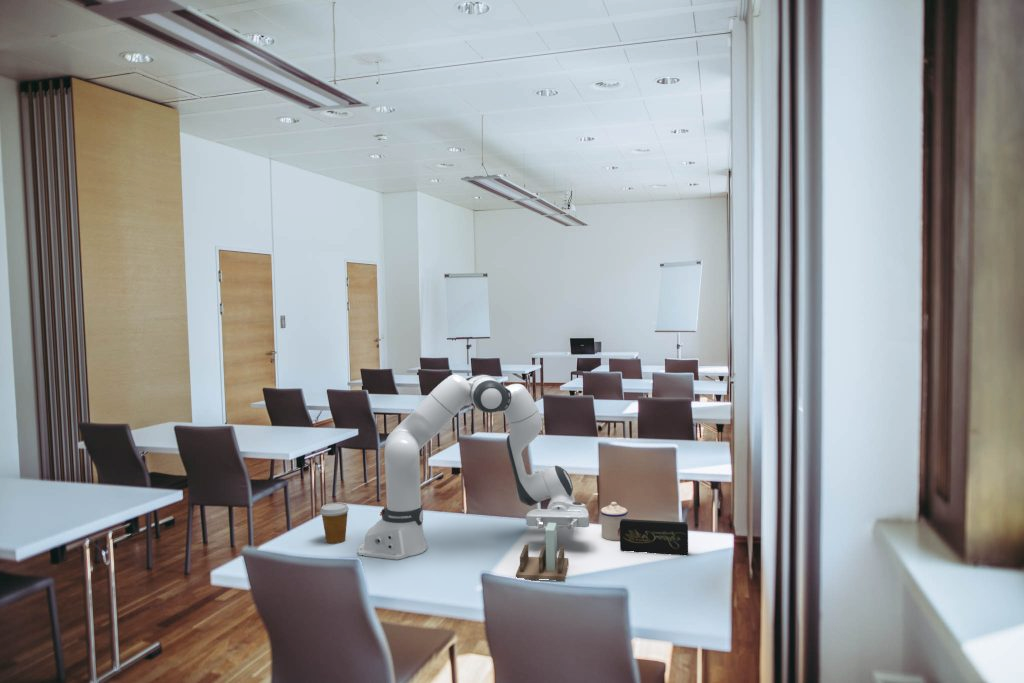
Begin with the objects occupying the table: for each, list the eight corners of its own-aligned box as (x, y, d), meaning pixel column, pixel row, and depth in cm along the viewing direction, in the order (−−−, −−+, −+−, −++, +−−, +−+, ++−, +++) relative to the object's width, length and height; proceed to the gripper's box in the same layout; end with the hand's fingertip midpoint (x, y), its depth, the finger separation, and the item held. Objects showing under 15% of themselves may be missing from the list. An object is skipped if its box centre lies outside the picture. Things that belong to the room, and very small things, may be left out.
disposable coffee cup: (350, 543, 227) (348, 508, 227) (321, 546, 225) (319, 511, 225) (349, 534, 237) (348, 501, 236) (321, 537, 234) (320, 503, 234)
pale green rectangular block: (546, 570, 196) (545, 530, 195) (549, 561, 202) (548, 522, 202) (555, 571, 195) (554, 530, 195) (557, 562, 202) (556, 522, 201)
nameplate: (688, 553, 210) (687, 522, 210) (688, 556, 208) (687, 524, 208) (620, 549, 216) (620, 518, 215) (620, 551, 214) (619, 520, 213)
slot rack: (515, 579, 194) (515, 559, 193) (523, 561, 207) (522, 542, 207) (564, 581, 191) (563, 560, 191) (568, 563, 205) (568, 543, 205)
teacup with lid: (622, 542, 221) (621, 507, 221) (596, 538, 226) (596, 504, 225) (634, 531, 232) (634, 498, 231) (610, 528, 236) (609, 495, 236)
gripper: (528, 502, 225) (522, 515, 211) (590, 503, 221) (587, 517, 207) (529, 521, 225) (522, 535, 211) (590, 522, 221) (588, 537, 208)
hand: (555, 526), depth 209 cm, fingers open, 8 cm apart
